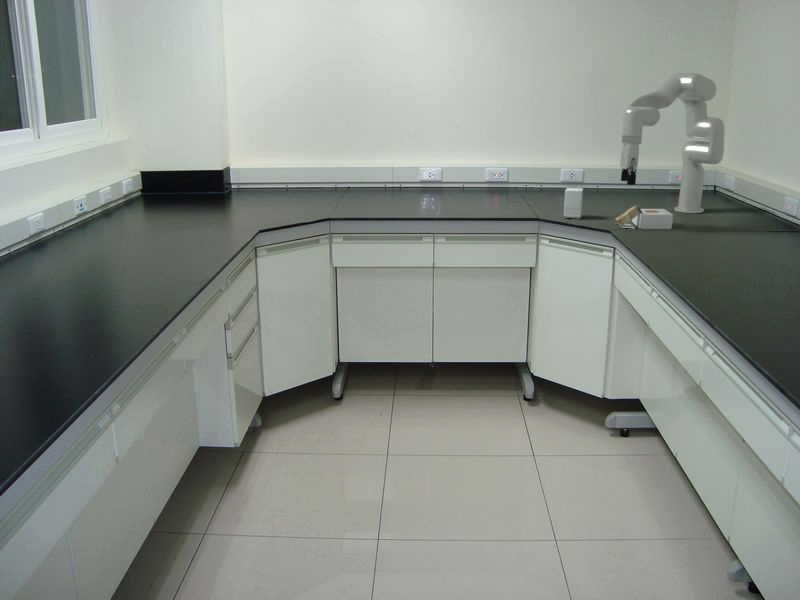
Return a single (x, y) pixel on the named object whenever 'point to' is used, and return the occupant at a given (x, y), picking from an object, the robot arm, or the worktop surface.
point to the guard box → (654, 219)
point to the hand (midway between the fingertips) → (627, 182)
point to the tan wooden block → (628, 215)
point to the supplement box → (573, 202)
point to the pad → (628, 226)
